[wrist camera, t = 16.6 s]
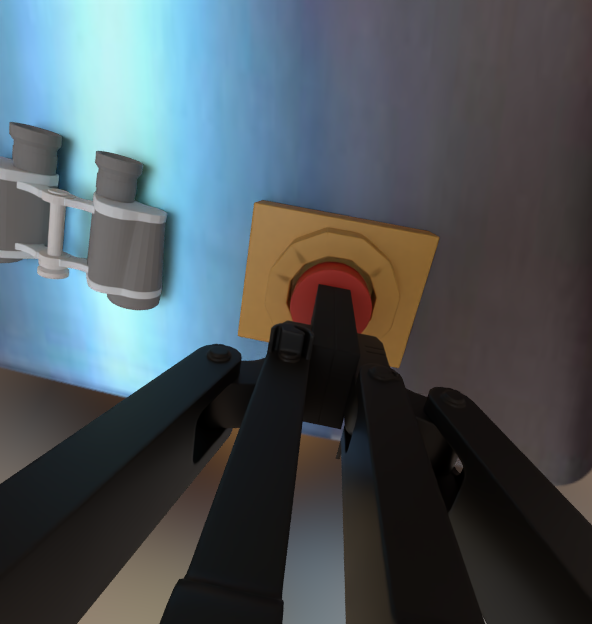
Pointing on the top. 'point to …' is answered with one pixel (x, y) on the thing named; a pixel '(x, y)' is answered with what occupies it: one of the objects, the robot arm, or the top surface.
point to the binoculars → (104, 224)
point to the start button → (334, 277)
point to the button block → (334, 248)
